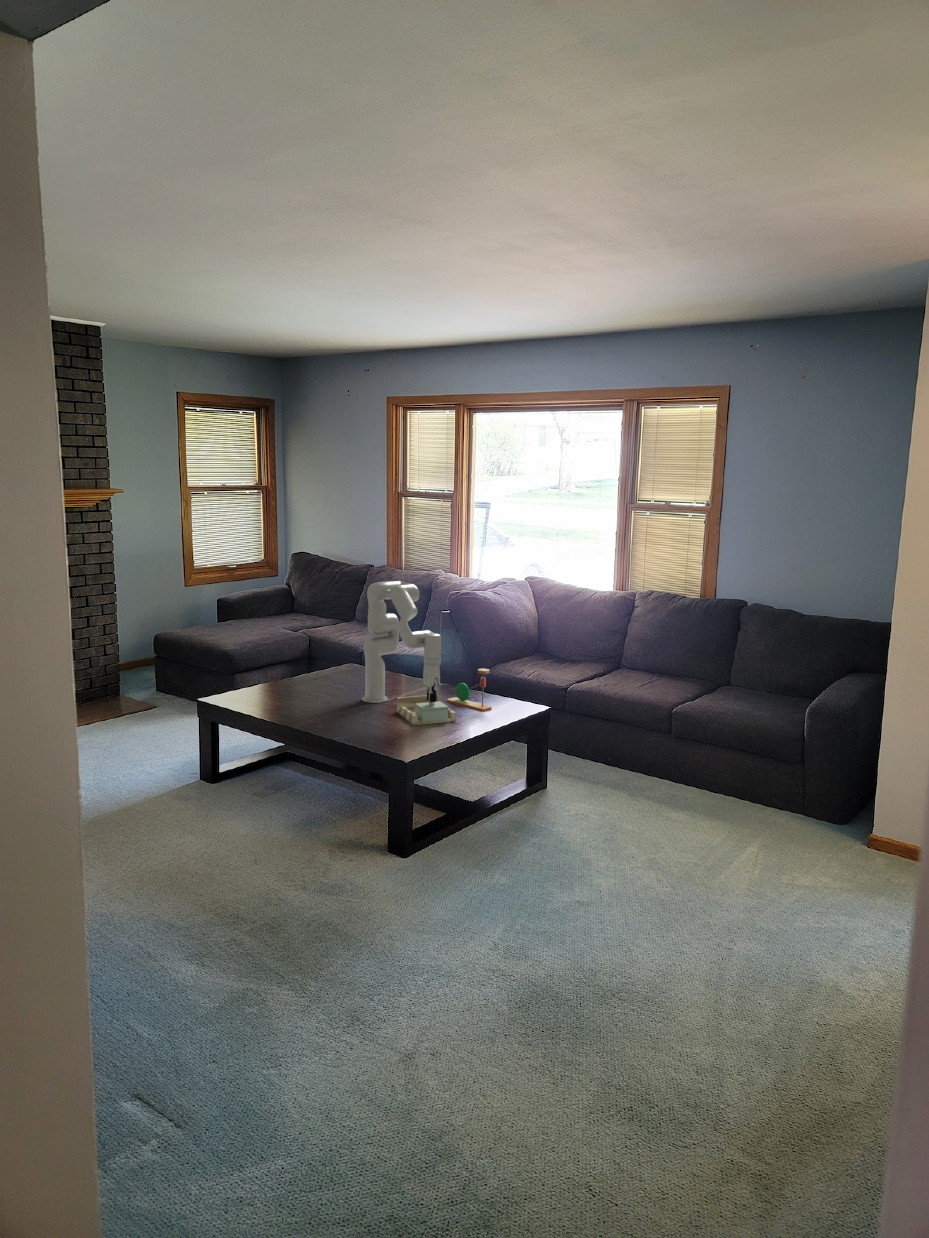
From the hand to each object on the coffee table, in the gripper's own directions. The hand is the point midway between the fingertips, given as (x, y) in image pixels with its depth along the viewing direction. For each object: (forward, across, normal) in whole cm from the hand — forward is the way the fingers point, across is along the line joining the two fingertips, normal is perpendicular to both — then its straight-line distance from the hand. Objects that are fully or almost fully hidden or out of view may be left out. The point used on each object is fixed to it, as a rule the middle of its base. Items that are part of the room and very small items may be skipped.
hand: (431, 700), depth 396 cm
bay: (+9, -7, 0) cm, 12 cm away
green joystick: (+8, 0, 0) cm, 8 cm away
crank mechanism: (+9, -19, +27) cm, 34 cm away
